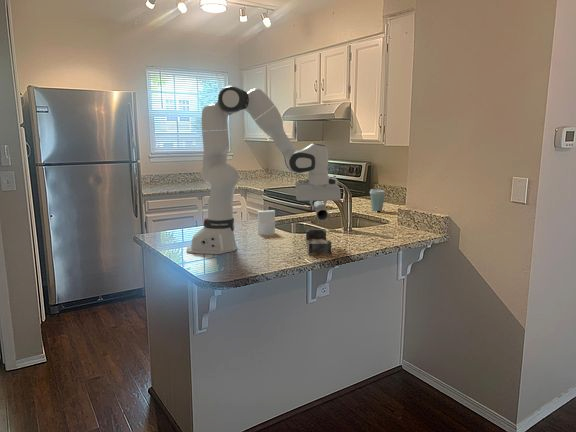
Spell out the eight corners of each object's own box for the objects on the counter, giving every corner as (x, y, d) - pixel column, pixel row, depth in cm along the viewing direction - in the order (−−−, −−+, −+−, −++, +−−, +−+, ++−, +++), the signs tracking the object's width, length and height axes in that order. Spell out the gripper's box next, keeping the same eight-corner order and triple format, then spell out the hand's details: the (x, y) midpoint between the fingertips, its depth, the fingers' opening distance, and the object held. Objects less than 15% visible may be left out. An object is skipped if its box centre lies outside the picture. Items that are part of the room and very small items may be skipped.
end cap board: (308, 255, 185) (308, 243, 184) (305, 239, 214) (305, 229, 213) (331, 255, 185) (331, 243, 184) (325, 239, 214) (325, 229, 213)
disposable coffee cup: (386, 210, 295) (387, 189, 292) (383, 213, 285) (383, 190, 282) (371, 209, 299) (371, 188, 296) (367, 212, 289) (367, 190, 287)
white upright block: (272, 231, 232) (272, 209, 230) (277, 234, 224) (277, 212, 222) (256, 232, 230) (255, 210, 227) (260, 235, 221) (260, 213, 219)
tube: (311, 201, 208) (314, 211, 183) (322, 198, 207) (326, 207, 183) (314, 211, 209) (318, 222, 184) (325, 208, 208) (330, 219, 184)
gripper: (295, 180, 191) (295, 211, 193) (341, 180, 191) (340, 211, 193) (295, 179, 197) (295, 209, 199) (339, 179, 197) (339, 208, 199)
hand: (318, 210), depth 196 cm, fingers closed on tube, 2 cm apart
